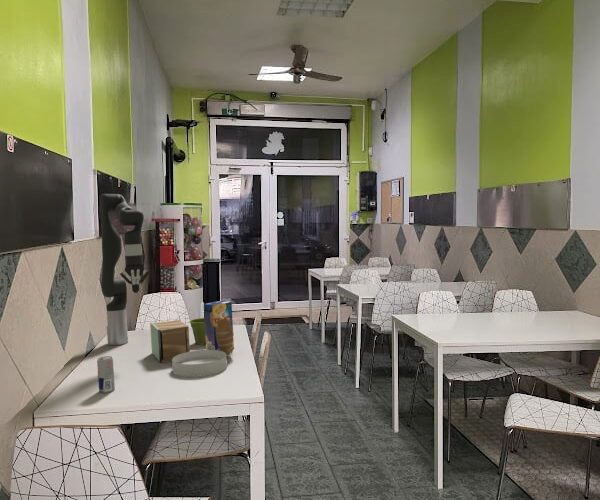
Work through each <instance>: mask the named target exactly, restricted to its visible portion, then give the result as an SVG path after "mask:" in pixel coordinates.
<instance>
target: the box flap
mask: <svg viewBox="0 0 600 500" xmlns="http://www.w3.org/2000/svg"><path fill="white" fill-rule="evenodd" d="M154 323H155V322H150V323H149V324H150V343H151V353H152V355H153V356H154V357H155V358H156V359H157V361H158V362H159V363H163V362H162V353H161V336H160V329H159V328H158V327H157V326H156V325H155V324H154Z"/></svg>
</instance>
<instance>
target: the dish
mask: <svg viewBox="0 0 600 500" xmlns="http://www.w3.org/2000/svg"><path fill="white" fill-rule="evenodd" d="M171 362H172V363H171V364H172V366H171V369H172V373H173V374H174V375H175V376H180V377H189V378H190V377H193V378H194V377H203V376H210V375H214V374H218V373H221V372H222V371H224V370H226V369H227V368H228V360H227V356H226V353H225V352H222V351H218V350H206V349H202V350H190V352H186V353H182V354H179V355H177V356H175V357H173V359H172V361H171Z"/></svg>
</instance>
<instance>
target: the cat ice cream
mask: <svg viewBox="0 0 600 500" xmlns="http://www.w3.org/2000/svg"><path fill="white" fill-rule="evenodd" d="M216 338H217V343H218V347H219V349H220V351H222V352H225V353H226V357H228V356H229V355H230V353H231V350H232V349H231V348H232V343H233V340H234V326H233V327H232V326H231V323H230V320H229V319H228V318H226V317H225V316H224V315H223V316H222V318H220V319H219V320H218V323H217V327H216Z"/></svg>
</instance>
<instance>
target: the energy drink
mask: <svg viewBox="0 0 600 500" xmlns="http://www.w3.org/2000/svg"><path fill="white" fill-rule="evenodd" d="M96 362H97V363H96V364H97V378H98V380H97V382H98V392H99V393H100V394H108V393H112V392H113V390H115V389H116V388H115V387H116V386H115V385H116V384H115V371H114V359H113V356H111V355H106V356H105V355H103V356H100V357H98V358H97V359H96ZM111 391H112V392H111ZM107 392H108V393H107Z"/></svg>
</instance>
